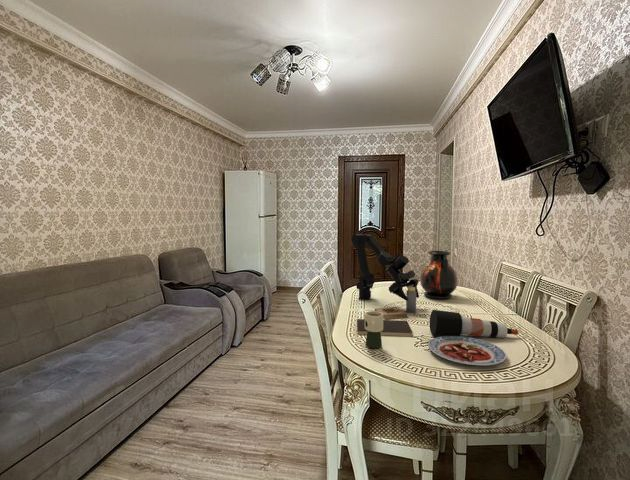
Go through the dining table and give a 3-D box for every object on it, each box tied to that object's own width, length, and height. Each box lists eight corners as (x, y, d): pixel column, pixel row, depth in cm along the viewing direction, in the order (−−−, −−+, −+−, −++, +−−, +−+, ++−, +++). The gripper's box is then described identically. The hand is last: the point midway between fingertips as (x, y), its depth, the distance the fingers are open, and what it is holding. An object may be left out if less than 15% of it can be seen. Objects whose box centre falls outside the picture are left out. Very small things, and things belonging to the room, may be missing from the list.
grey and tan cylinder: (406, 312, 172) (406, 288, 171) (406, 310, 177) (406, 286, 176) (416, 313, 171) (416, 288, 170) (415, 310, 176) (416, 286, 175)
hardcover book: (412, 337, 139) (412, 332, 139) (357, 335, 142) (357, 330, 142) (406, 325, 155) (406, 320, 155) (357, 323, 158) (357, 318, 157)
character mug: (365, 340, 135) (365, 308, 134) (383, 341, 133) (383, 310, 132) (363, 351, 124) (363, 317, 123) (382, 352, 123) (383, 318, 122)
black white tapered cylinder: (517, 350, 136) (527, 332, 130) (432, 339, 138) (438, 322, 133) (507, 331, 144) (516, 314, 139) (428, 321, 147) (433, 304, 141)
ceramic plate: (468, 377, 105) (468, 368, 105) (413, 347, 128) (413, 339, 128) (523, 362, 115) (523, 353, 115) (463, 337, 139) (463, 330, 138)
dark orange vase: (414, 293, 213) (414, 250, 211) (446, 292, 216) (447, 249, 214) (429, 302, 192) (430, 254, 190) (464, 301, 194) (466, 253, 192)
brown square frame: (374, 312, 173) (374, 308, 173) (395, 310, 176) (395, 306, 176) (384, 319, 162) (385, 315, 161) (407, 317, 165) (407, 313, 164)
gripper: (393, 267, 170) (410, 292, 162) (416, 263, 181) (433, 287, 173) (381, 280, 177) (397, 305, 169) (404, 276, 188) (420, 299, 180)
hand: (412, 298), depth 172 cm, fingers open, 9 cm apart
